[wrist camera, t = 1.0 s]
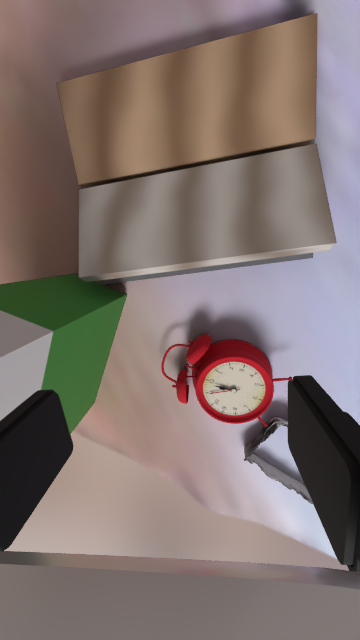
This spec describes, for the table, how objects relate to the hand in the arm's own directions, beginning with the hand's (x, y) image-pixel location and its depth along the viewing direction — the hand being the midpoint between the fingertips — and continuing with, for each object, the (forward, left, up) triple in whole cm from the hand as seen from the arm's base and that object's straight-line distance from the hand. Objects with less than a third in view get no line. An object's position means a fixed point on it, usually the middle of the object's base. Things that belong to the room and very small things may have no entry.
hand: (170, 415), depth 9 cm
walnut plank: (-1, -20, -21) cm, 29 cm away
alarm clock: (-2, +9, -21) cm, 24 cm away
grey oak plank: (-1, -9, -18) cm, 20 cm away
